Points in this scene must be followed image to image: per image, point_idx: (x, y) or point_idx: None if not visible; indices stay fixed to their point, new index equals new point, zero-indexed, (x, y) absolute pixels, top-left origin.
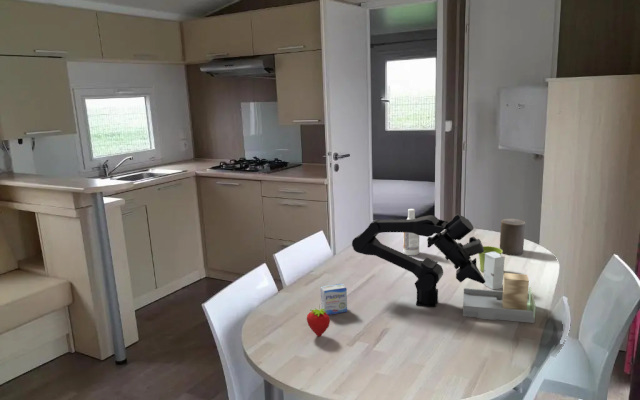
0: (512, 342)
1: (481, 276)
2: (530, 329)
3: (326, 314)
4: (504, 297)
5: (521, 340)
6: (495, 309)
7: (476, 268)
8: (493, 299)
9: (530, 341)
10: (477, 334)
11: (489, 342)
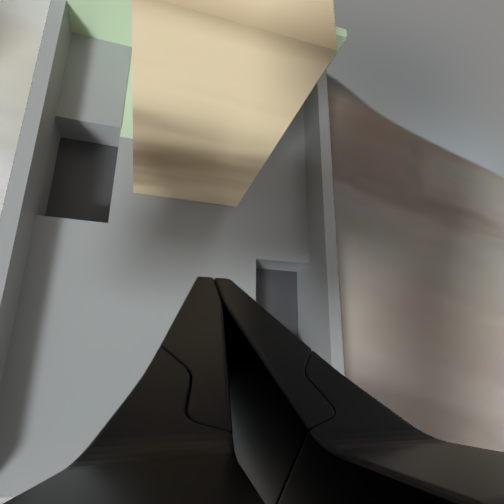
0: (468, 228)
1: (270, 322)
2: (351, 136)
3: None
4: (260, 165)
5: (443, 193)
6: (334, 254)
7: (230, 433)
8: (101, 243)
9: (439, 164)
10: (461, 367)
11: (500, 317)
